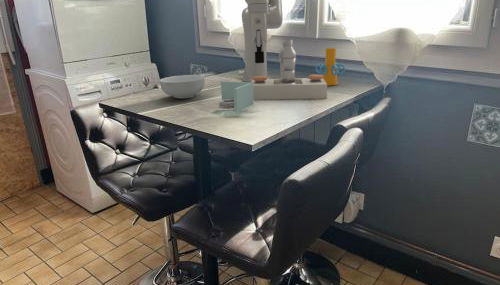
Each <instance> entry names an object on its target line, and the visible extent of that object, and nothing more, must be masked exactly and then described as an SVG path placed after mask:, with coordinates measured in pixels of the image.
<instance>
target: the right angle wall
mask: <svg viewBox="0 0 500 285" xmlns="http://www.w3.org/2000/svg"><path fill="white" fill-rule="evenodd" d="M220 90H221V91H220V93H221V100H220V101H219V108H221V110H219V109H218V110H217V109H216V110H213V111H215V112H224V113H225V112H226V113H236V114H237V113H241V111H243V110H245V109H246V108H249V107H251V106H253V105H254V104H255V102H254V101H255V100H254V95H253V83H251V82H245V81H229V80H221V81H220ZM222 109H226V110H222ZM229 109H230V110H229Z"/></svg>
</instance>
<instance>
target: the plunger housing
mask: <svg viewBox="0 0 500 285" xmlns="http://www.w3.org/2000/svg"><path fill="white" fill-rule="evenodd" d="M295 82H296V84H280V78H270V79H267V80H265V83H255V81H254V80H252V82H250V83H253V95H254V101H255V100H259V101H261V100H304V99H306V100H310V99H311V100H312V99H313V100H314V99H317V100H318V99H327V97H328V96H327V95H328V86H327V83H326V82H325V81H324V80H323V79H320V82H311V79H309V77H304V78H300V77H299V78H295Z"/></svg>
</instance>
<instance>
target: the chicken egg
mask: <svg viewBox="0 0 500 285" xmlns="http://www.w3.org/2000/svg"><path fill="white" fill-rule="evenodd" d="M267 76H268V75H267ZM267 76H254V77H253V80H254V81H255V83H265V80H267Z"/></svg>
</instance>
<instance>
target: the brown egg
mask: <svg viewBox="0 0 500 285" xmlns="http://www.w3.org/2000/svg"><path fill="white" fill-rule="evenodd" d="M308 78H309V79H311V82H320V79H323V75H321V74H309V75H308Z"/></svg>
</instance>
